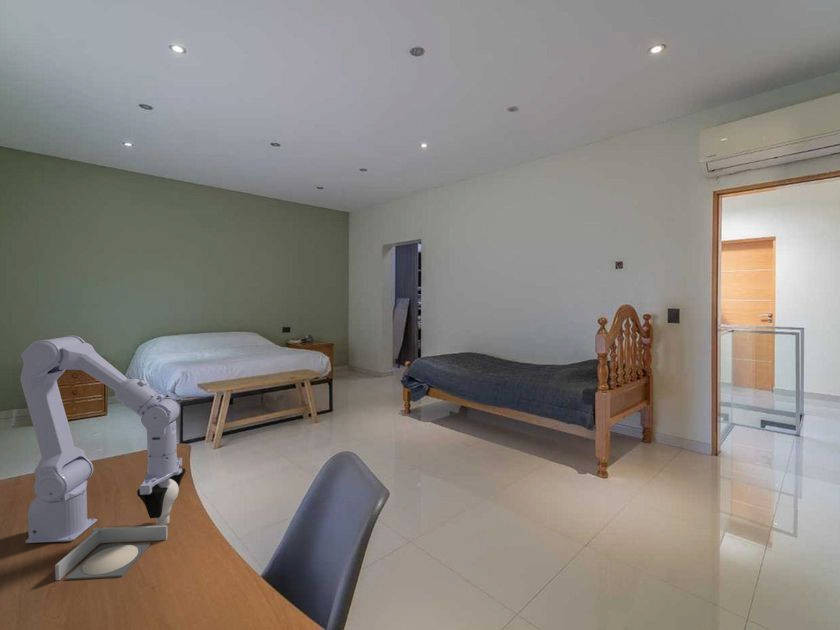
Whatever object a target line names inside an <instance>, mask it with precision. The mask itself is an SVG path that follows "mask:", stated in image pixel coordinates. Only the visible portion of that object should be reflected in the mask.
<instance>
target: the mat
mask: <svg viewBox="0 0 840 630" xmlns="http://www.w3.org/2000/svg"><path fill="white" fill-rule="evenodd" d="M151 545H152V542H135V543H133V542H131V543H117V544H116V543H115V544H113V543H111V544H101V545H100V546H97V548H95V549H94V550H93V552H92V553H91V554H89V555H88V557H86V559H84V560H83V561H81V563H80V564H78V566H77V567H76V568H74V569H73V570H71V572H70V573H69V574H68V575H67V576H66V577H64V580H65V581H71V580H72V581H73V580H87V579H88V580H89V579H90V580H91V579H105V578H106V579H107V578H123V576H124V575H125V574H126V573H127V572H128V571H129V570H130V569H131V567H132V566H133V565H134V564H135V563H136V562H137V561H138V559H139V558H140V557H141V556H142V555H143V554H144V553H145V552H146V550H147V549H148V548H149V547H150V546H151Z"/></svg>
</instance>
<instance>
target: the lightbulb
mask: <svg viewBox="0 0 840 630" xmlns="http://www.w3.org/2000/svg"><path fill="white" fill-rule="evenodd" d="M159 486H160V488H164V487H168V489H167V491H166V493H165V496H164V500H163V508H162V514H161V516H160V517H159V518H155V520H156V526H160V525H168V524H169V523H170V522H171V510H172V509H173V504H174V503H175V502H176V501H175V499H176V500H177V498H178V495H179V492H180V489H179V488H180V486H179V487H178V484H177V483H176V482H175V481H174V480H173V479H170V478H168V479H166V480H164V481H162V482H160V483H159ZM174 501H175V502H174Z"/></svg>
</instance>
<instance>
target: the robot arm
mask: <svg viewBox="0 0 840 630" xmlns="http://www.w3.org/2000/svg"><path fill="white" fill-rule="evenodd" d="M20 356H21V360H22V362H23V365H22V370H21V374H20V379H19V380H20V384H21V388H22V391H23V394H24V398H25V401H26V404H27V405H26V406H27V409H28V412H29V415H30V419H31V423H32V426H33V429H34V432H35V436H36V440H37V445H38V446H39V451H40V454H41V459H40V460H39V462H38V464H37V465H36V467H35V469H34V472H33V473H34V476H35V481H34V485H33V491H34V494H35V496H36V497H34V499H33V500H32V501H31V502H30V505H29V508H28V512H27V524H28V525H27V526H28V528H27V529H28V530H27V531H28V538H27V539H26V540H25V544H36V543H37V544H38V543H55V542H56V543H59V542H72V541H74V540H76V539H77V538H79V536H81V535H82V534H83V533H84V532H85V531H87V530H88V529H90V527H92V526H93V525H94V524H95V523H96V522H98V519H97V518H88V494H87V493H88V491H87V486H88V480H89V479H90V478H91V477H92V475H93V474H94V473H93V472H94V465H93V463H92V461H91V460H90V459H89V458H88V457H87V455H86V453H85V450H84V449H83V448H82V449H81V448H79V447H78V446H76V445H75V443H74V440H73V436H72V433H71V428H70V425H69V422H68V421H69V420H68V418H67V414H66V411H65V410H66V409H65V406H64V404H63V399H62V396H61V392H60V388H59V385H58V380H59V378H60V377H61V376H62V375H63V374H64V373H65V371H82V372H84V373H86V374H87V375H88V376H90V377H92V378H94V379H95V380H97V381H98V382H100V383H102V384H104V385H105V386H107V387H108V388H110V389H111V390H113V391H114V397H115V400H117V401H118V402H119V403H121V404H122V405H124V406H125V407H127V408H129V410H131V412H133V413H135V414H137V415H138V416H139V417H140V422H141V424H142V425H143V427H145V429H146V445H147V446H146V450H147V455H146V456H147V473H146V474H145V476H144V479H143V481H142V483H141V484H140V485H139V488H138V489H137V491H136V495H137V497H139V499H140V500H141V501H142V502H143V504H144V507H145V508H146V511H147V513H148V514H147V515H148V517H149V519H157V518H159V517H160V516H161V514H162V508H163V500H164V496H165V493H166V491H167V489H168V487H164V488H160V486H159V483H160V482H162V481H164V480H166V479H168V478H170V479H173V480H174V481H175V482H176V483H177V484H178V487H179V488H180V484H181V482H182V479H183V477H184V476H185V474H186V472H187V471H186V468H183V467H181V466H183V458H182V457H178V455H177V453H178V452H177V449H178V443H177V442H178V441H177V420H176V419H177V418H178V417H179V416H180V413H181V406H180V403H178V401H177V400H176V399H175V398H173V397H170V396H168V397H167V396H165V395H164V394H162V393H160V394H159V393H158V392H156V391H155V390H154V389H153V388H151V387H150V386H149V385H147V384H148V382H147V381H146V380H144V379H142V380H141V379H138V378H128V377H126V376H125V375H124V374H123V373H121V371H120V370H118V369H117V368H116V367H115V366H113V365H112V364H111V363H110V362H108V361H107V360H106V359H105V358H103V357H102V356H101V355H100V354H99V353H98V352H97V351H96V350H95V349H94V347H93V345H92V344H91V343H88V342H86V341H85V340H84V339H83V338H82V337H80V336H77V335H72V334H71V335H65V336H64V337H63V336H62V337H58V338H57V337H56V338H50V339H39V340H35V341H34V342H32V343H30V344H29V345H28V346H27V348H26V349H24V351H23V352H21V353H20ZM180 467H181V468H180ZM176 500H177V498H176V499H175V501H174V502H173V503H175V502H176Z"/></svg>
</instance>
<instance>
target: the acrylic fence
mask: <svg viewBox="0 0 840 630" xmlns="http://www.w3.org/2000/svg"><path fill="white" fill-rule="evenodd" d="M168 526H169V525H168V524H167V525H160V526H157V525H141V526H137V525H136V526H119V527H118V526H117V527H116V526H115V527H96V528H95V527H94V528H93V529H92V531H91V534H90V535H89V536H88V537H87V538H86V539H84V540H82V542H80V543H79V544H78V545H76V546H75V548H73V549H72V550H71V551H70V552H69V553H67V555H65V556H64V557H63V558H62V559H61V560H59V561H58V562H57V563H56V564H55V566H54V568H55V569H54V571H55V581H60V580H62V579H63V578H64V577H65V576H66V574H68V573H69V572H70V571H72V569H74V568H75V567H76V565H79V564H78V563H80V562H82V560H83V559H84V558H85V557H87V556H88V555H90V553H91V552H92V551H94V550H95V549H96V547H98V546H99V545H100V544H104V543H105V544H106V543H107V544H109V543H111V544H112V543H126V542H127V543H129V542H130V543H133V542H149V541H150V542H151V541H152V542H153V541H167V540H168V539H169V538H168V537H169V535H168V532H169V531H168V530H169V527H168Z"/></svg>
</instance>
